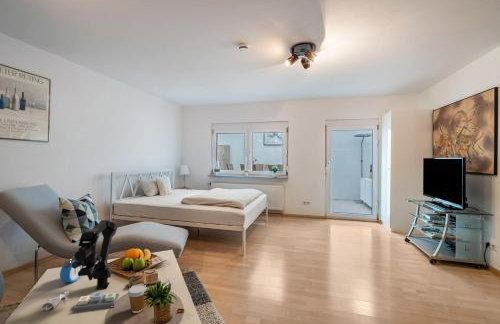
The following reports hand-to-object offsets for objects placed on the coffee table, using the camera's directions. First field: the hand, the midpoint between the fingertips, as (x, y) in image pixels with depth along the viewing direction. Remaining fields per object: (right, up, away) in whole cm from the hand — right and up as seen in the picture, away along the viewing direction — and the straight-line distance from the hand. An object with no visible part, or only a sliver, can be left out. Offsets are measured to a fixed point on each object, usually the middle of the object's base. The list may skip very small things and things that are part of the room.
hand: (90, 280), depth 140 cm
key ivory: (-1, -10, -4) cm, 11 cm away
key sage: (+11, -11, 0) cm, 16 cm away
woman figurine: (-18, -12, -2) cm, 22 cm away
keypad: (+5, -12, -2) cm, 13 cm away
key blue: (+5, -9, -2) cm, 11 cm away
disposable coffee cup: (+30, -13, -7) cm, 33 cm away
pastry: (+21, -12, +19) cm, 30 cm away
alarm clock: (-26, -11, +21) cm, 34 cm away
